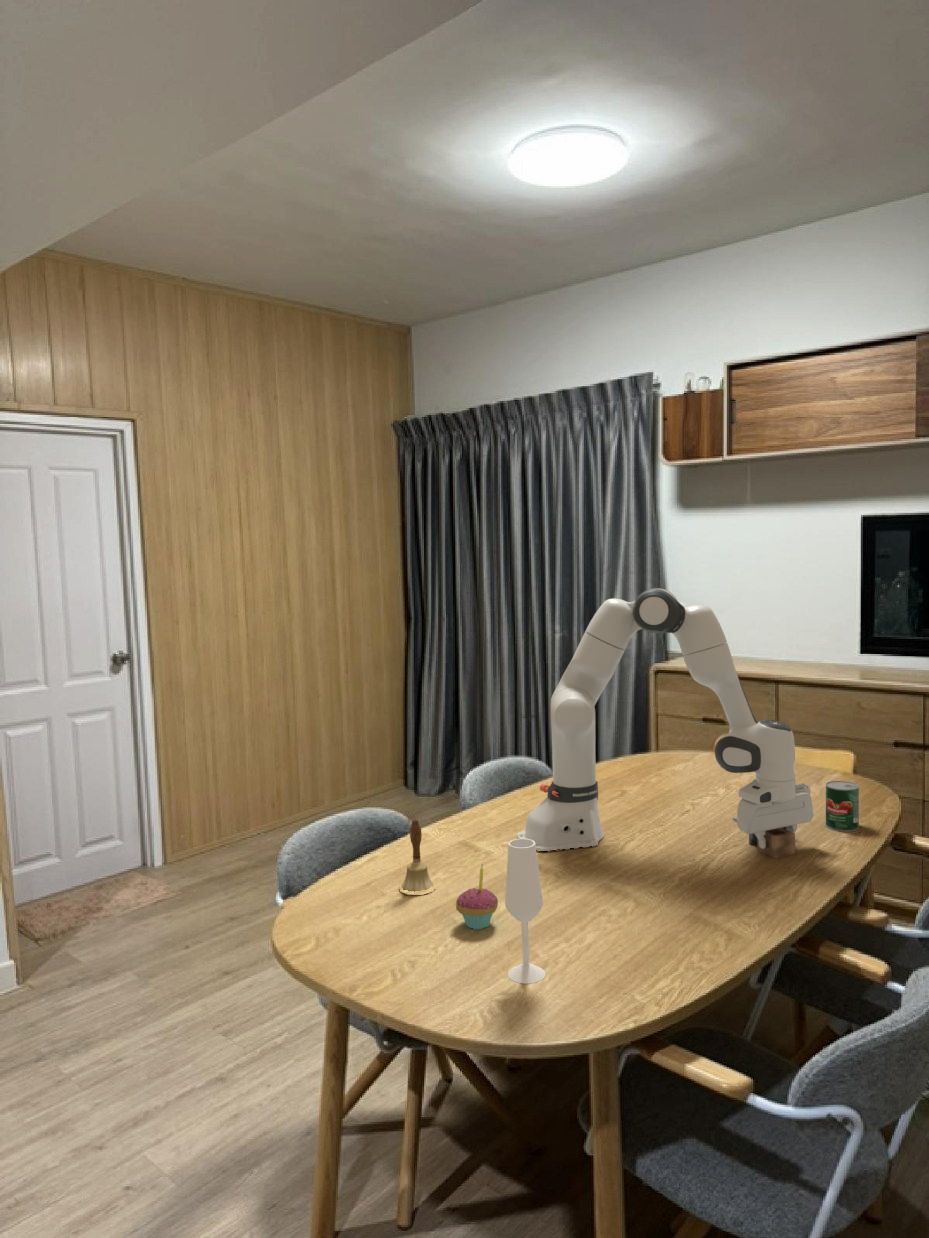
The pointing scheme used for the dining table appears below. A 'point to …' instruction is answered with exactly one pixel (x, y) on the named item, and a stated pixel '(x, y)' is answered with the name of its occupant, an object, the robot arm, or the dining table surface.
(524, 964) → the champagne flute
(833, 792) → the canned tomato
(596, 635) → the robot arm
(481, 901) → the cupcake
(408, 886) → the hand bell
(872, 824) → the dining table surface
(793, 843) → the brown hollow square block
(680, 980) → the dining table surface
